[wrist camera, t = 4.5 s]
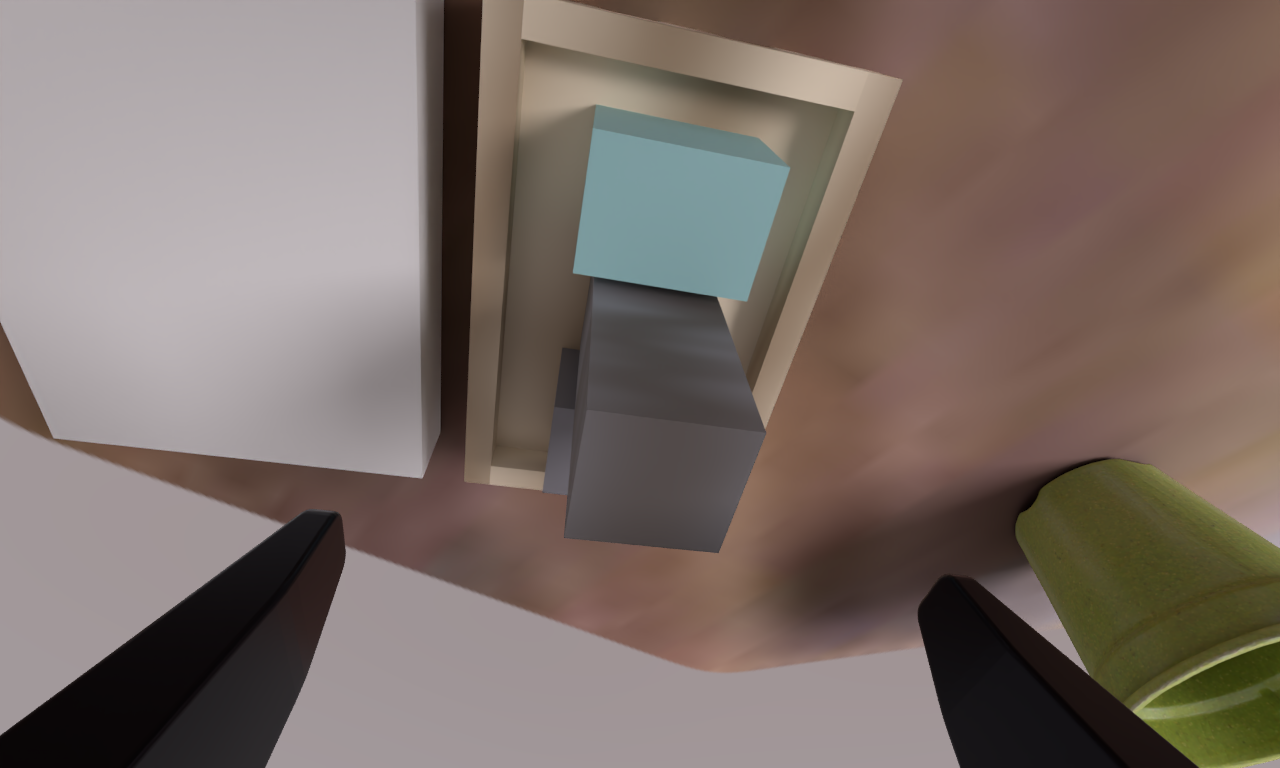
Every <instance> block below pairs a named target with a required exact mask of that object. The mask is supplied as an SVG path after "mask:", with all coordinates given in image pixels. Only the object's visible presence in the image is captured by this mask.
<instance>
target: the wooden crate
mask: <svg viewBox="0 0 1280 768" xmlns="http://www.w3.org/2000/svg"><path fill="white" fill-rule="evenodd" d="M902 81H903V80H902V79H899V78H895V77H891V76H888V75H884V74H881V73H877V72H873V71H870V70H865V69H861V68H857V67H852V66H848V65H844V64H840V63H836V62H833V61H829V60H825V59H821V58H817V57H813V56H808V55H804V54H800V53H795V52H791V51H787V50H782V49H778V48H774V47H766V46H761V45H757V44H753V43H748V42H744V41H740V40H735V39H731V38H727V37H723V36H720V35H717V34H713V33H709V32H704V31H700V30H696V29H691V28H687V27H683V26H678V25H674V24H670V23H665V22H661V21H658V22H657V21H653V20H648V19H644V18H640V17H635V16H631V15H627V14H622V13H618V12H614V11H609V10H605V9H601V8H599V7H596V6H591V5H587V4H583V3H578V2H574V1H570V0H483V8H482V34H481V59H480V85H479V111H478V137H477V162H476V188H475V214H474V240H473V265H472V291H471V317H470V343H469V369H468V394H467V420H466V446H465V472H464V482H471V483H480V484H489V485H499V486H508V487H517V488H526V489H535V490H543V484H544V476H545V469H546V462H547V454H548V447H549V440H550V432H551V425H552V418H553V411H554V403H555V396H556V389H557V382H558V375H559V368H560V360H561V353H562V347H563V348H569V349H576V350H580V353H579V365H578V377H577V389H576V401H575V412H574V424H573V436H572V448H571V460H570V472H569V484H568V495H567V507H566V519H565V531H564V538H570V539H580V540H590V541H601V542H611V543H621V544H631V545H642V546H652V547H662V548H672V549H682V550H693V551H703V552H713V553H719V551H720V548H721V546H722V543H723V541H724V538H725V536H726V533H727V530H728V528H729V525H730V523H731V520H732V518H733V515H734V513H735V510H736V508H737V505H738V503H739V500H740V498H741V495H742V493H743V490H744V488H745V485H746V483H747V480H748V478H749V475H750V473H751V470H752V468H753V465H754V463H755V460H756V458H757V455H758V453H759V450H760V448H761V445H762V443H763V440H764V438H765V435H766V431H765V428H766V426H767V423H768V420H769V418H770V415H771V413H772V410H773V408H774V405H775V403H776V400H777V398H778V395H779V393H780V390H781V388H782V385H783V382H784V380H785V377H786V375H787V372H788V370H789V367H790V365H791V362H792V360H793V357H794V355H795V352H796V350H797V347H798V344H799V342H800V339H801V337H802V334H803V332H804V329H805V327H806V324H807V322H808V319H809V317H810V314H811V312H812V309H813V306H814V304H815V301H816V299H817V296H818V294H819V291H820V289H821V286H822V284H823V281H824V279H825V276H826V274H827V271H828V268H829V266H830V263H831V261H832V258H833V256H834V253H835V251H836V248H837V246H838V243H839V241H840V238H841V236H842V233H843V230H844V228H845V225H846V223H847V220H848V218H849V215H850V213H851V210H852V208H853V205H854V203H855V200H856V198H857V195H858V192H859V190H860V187H861V185H862V182H863V180H864V177H865V175H866V172H867V170H868V167H869V165H870V162H871V160H872V157H873V154H874V152H875V149H876V147H877V144H878V142H879V139H880V137H881V134H882V132H883V129H884V127H885V124H886V122H887V119H888V116H889V114H890V111H891V109H892V106H893V104H894V101H895V99H896V96H897V94H898V91H899V89H900V86H901V84H902ZM596 104H597V105H602V106H607V107H612V108H617V109H621V110H626V111H631V112H636V113H641V114H646V115H650V116H655V117H660V118H665V119H670V120H675V121H679V122H684V123H689V124H694V125H699V126H704V127H709V128H713V129H718V130H723V131H728V132H733V133H738V134H742V135H747V136H752V137H757V138H759V139H760V140H761V141H762V142H763V143H765V144H766V145H767V146H768V147H769V148H770V149H771V150H772V151H773V152H774V153H775V154H776V155H777V156H778V157H780V158H781V159H782V160H783V161H784V162H785V163H786V164H787V165H788V166H789V167H790V171H789V174H788V177H787V180H786V183H785V186H784V189H783V192H782V195H781V198H780V201H779V204H778V208H777V211H776V214H775V217H774V220H773V223H772V226H771V229H770V232H769V235H768V238H767V241H766V245H765V248H764V251H763V254H762V257H761V260H760V263H759V266H758V269H757V272H756V275H755V278H754V281H753V285H752V288H751V291H750V294H749V297H748V300H747V302H746V301H740V300H734V299H728V298H722V297H715V296H709V295H703V294H697V293H691V292H685V291H679V290H673V289H667V288H661V287H654V286H648V285H642V284H636V283H630V282H624V281H618V280H612V279H606V278H600V277H593V276H587V275H581V274H575V273H573V268H574V260H575V253H576V245H577V238H578V230H579V223H580V216H581V208H582V201H583V194H584V187H585V180H586V173H587V166H588V158H589V151H590V144H591V137H592V130H593V123H594V116H595V108H596Z"/></svg>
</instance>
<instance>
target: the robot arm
mask: <svg viewBox="0 0 1280 768" xmlns="http://www.w3.org/2000/svg"><path fill="white" fill-rule="evenodd" d="M345 554H346V550H345V541H344V532H343V523H342V517H341V515H340V514H339V513H338V512H335V511H327V510H317V509H309V510H306V511H304V512H302V513H300V514H299V515H298V516H296V517H295V518H294V519H292V520H291V521H290V522H288V523H287V524H285V525H284V526H283V527H282V528H280V529H279V530H278V531H276V532H275V533H273V534H272V535H271V536H269V537H268V538H267V539H265V540H264V541H263V542H261V543H260V544H258V545H257V546H256V547H254V548H253V549H252V550H250V551H249V552H248V553H246V554H245V555H244V556H242V557H241V558H240V559H238V560H237V561H235V562H234V563H233V564H231V565H230V566H229V567H227V568H226V569H225V570H223V571H222V572H221V573H219V574H218V575H217V576H215V577H214V578H212V579H211V580H210V581H208V582H207V583H206V584H204V585H203V586H202V587H201V588H199V589H198V590H196V591H195V592H194V593H192V594H191V595H189V596H188V597H187V598H185V599H184V600H183V601H181V602H180V603H179V604H177V605H176V606H175V607H173V608H172V609H171V610H169V611H168V612H167V613H165V614H164V615H163V616H161V617H160V618H158V619H157V620H156V621H154V622H153V623H152V624H150V625H149V626H148V627H146V628H145V629H144V630H142V631H141V632H139V633H138V634H137V635H135V636H134V637H133V638H132V639H130V640H129V641H127V642H126V643H125V644H123V645H122V646H121V647H119V648H118V649H116V650H115V651H114V652H113V653H111V654H110V655H108V656H107V657H106V658H104V659H103V660H102V661H100V662H99V663H98V664H96V665H95V666H94V667H92V668H91V669H89V670H88V671H87V672H86V673H84V674H83V675H81V676H80V677H79V678H77V679H76V680H75V681H73V682H72V683H71V684H69V685H68V686H66V687H65V688H64V689H63V690H61V691H60V692H58V693H57V694H56V695H54V696H53V697H52V698H50V699H49V700H48V701H46V702H45V703H43V704H42V705H41V706H39V707H38V708H37V709H36V710H34V711H33V712H31V713H30V714H29V715H27V716H26V717H25V718H23V719H22V720H20V721H19V722H18V723H16V724H15V725H14V726H12V727H11V728H10V729H8V730H7V731H6V732H4V733H3V734H2V735H1V736H0V768H265V767H266V765H267V762H268V760H269V758H270V756H271V753H272V751H273V749H274V747H275V745H276V743H277V741H278V739H279V736H280V734H281V732H282V730H283V728H284V726H285V724H286V721H287V719H288V717H289V715H290V713H291V711H292V708H293V706H294V704H295V702H296V700H297V698H298V695H299V693H300V691H301V688H302V686H303V683H304V681H305V679H306V676H307V673H308V671H309V668H310V665H311V662H312V659H313V656H314V653H315V650H316V648H317V645H318V641H319V638H320V636H321V633H322V630H323V626H324V624H325V621H326V617H327V615H328V612H329V609H330V606H331V603H332V600H333V597H334V594H335V591H336V588H337V585H338V582H339V579H340V576H341V573H342V570H343V567H344V563H345V556H346V555H345ZM918 622H919V626H920V630H921V634H922V638H923V642H924V646H925V650H926V654H927V658H928V662H929V665H930V669H931V673H932V677H933V681H934V685H935V689H936V693H937V697H938V701H939V705H940V708H941V712H942V715H943V719H944V722H945V725H946V728H947V731H948V734H949V737H950V740H951V743H952V746H953V749H954V751H955V754H956V757H957V760H958V763H959V765H960V768H1199V767H1198V766H1197V765H1196V764H1194V763H1193V762H1192V761H1191V760H1190V759H1189V758H1187V757H1186V756H1185V755H1184V754H1183V753H1181V752H1180V751H1179V750H1178V749H1177V748H1175V747H1174V746H1173V745H1172V744H1171V743H1169V742H1168V741H1167V740H1166V739H1165V738H1163V737H1162V736H1161V735H1160V734H1159V733H1157V732H1156V731H1155V730H1154V729H1153V728H1151V727H1150V726H1149V725H1148V724H1147V723H1145V722H1144V721H1143V720H1142V719H1141V718H1139V717H1138V716H1137V715H1136V714H1135V713H1133V712H1132V711H1131V710H1130V709H1129V708H1128V707H1126V706H1125V705H1124V704H1123V703H1122V702H1120V701H1119V700H1118V699H1117V698H1116V697H1114V696H1113V695H1112V694H1111V693H1110V692H1108V691H1107V690H1106V689H1105V688H1104V687H1102V686H1101V685H1100V684H1099V683H1098V682H1096V681H1095V680H1094V679H1093V678H1092V677H1090V676H1089V675H1088V674H1087V673H1085V672H1084V671H1083V670H1082V669H1081V668H1080V667H1078V666H1077V665H1076V664H1075V663H1074V662H1072V661H1071V660H1070V659H1069V658H1068V657H1067V656H1065V655H1064V654H1063V653H1062V652H1061V651H1059V650H1058V649H1057V648H1056V647H1054V646H1053V645H1052V644H1051V643H1050V642H1048V641H1047V640H1046V639H1045V638H1044V637H1043V636H1041V635H1040V634H1039V633H1038V632H1037V631H1035V630H1034V629H1033V628H1032V627H1031V626H1029V625H1028V624H1027V623H1026V622H1025V621H1023V620H1022V619H1021V618H1020V617H1019V616H1017V615H1016V614H1015V613H1014V612H1013V611H1012V610H1010V609H1009V608H1008V607H1007V606H1006V605H1004V604H1003V603H1002V602H1001V601H1000V600H998V599H997V598H996V597H995V596H994V595H992V594H991V593H990V592H989V591H988V590H986V589H985V588H984V587H983V586H982V585H980V584H979V583H978V582H977V581H976V580H974V579H973V578H971V577H968V576H962V575H953V574H945V575H943V576H941V577H940V578H939V579H938V580H937V582H936V583H935V584H934V586H933V587H932V588H931V590H930V591H929V592H928V594H927V595H926V596H925V598H924V599H923V600H922V602H921V603H920V605H919V608H918Z"/></svg>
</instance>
